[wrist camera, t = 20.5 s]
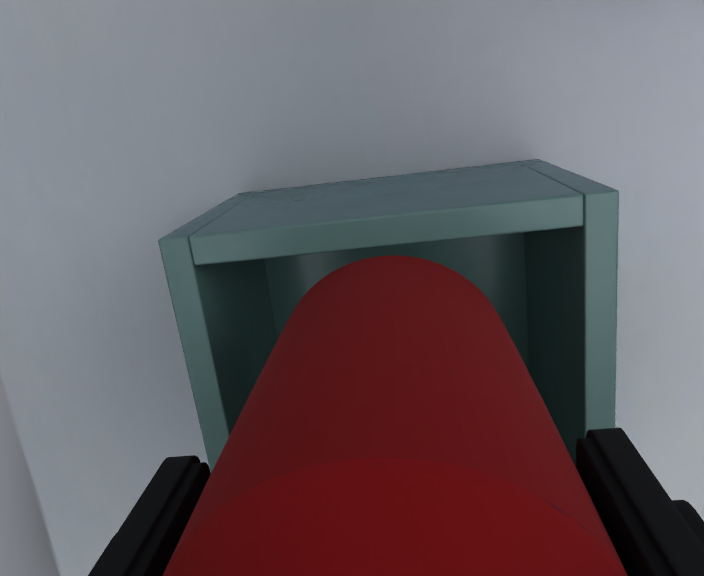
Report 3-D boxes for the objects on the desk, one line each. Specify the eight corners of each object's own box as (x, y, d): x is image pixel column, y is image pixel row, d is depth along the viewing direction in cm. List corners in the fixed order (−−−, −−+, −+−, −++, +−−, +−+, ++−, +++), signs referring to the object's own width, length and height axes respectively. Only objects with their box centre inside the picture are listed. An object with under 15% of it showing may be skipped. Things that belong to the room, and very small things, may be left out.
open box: (237, 193, 25) (156, 239, 17) (539, 158, 24) (619, 189, 15) (289, 481, 29) (247, 635, 21) (546, 466, 28) (612, 623, 20)
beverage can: (265, 420, 19) (59, 924, 7) (310, 220, 16) (121, 487, 5) (467, 472, 19) (580, 1054, 7) (538, 279, 16) (859, 675, 5)
